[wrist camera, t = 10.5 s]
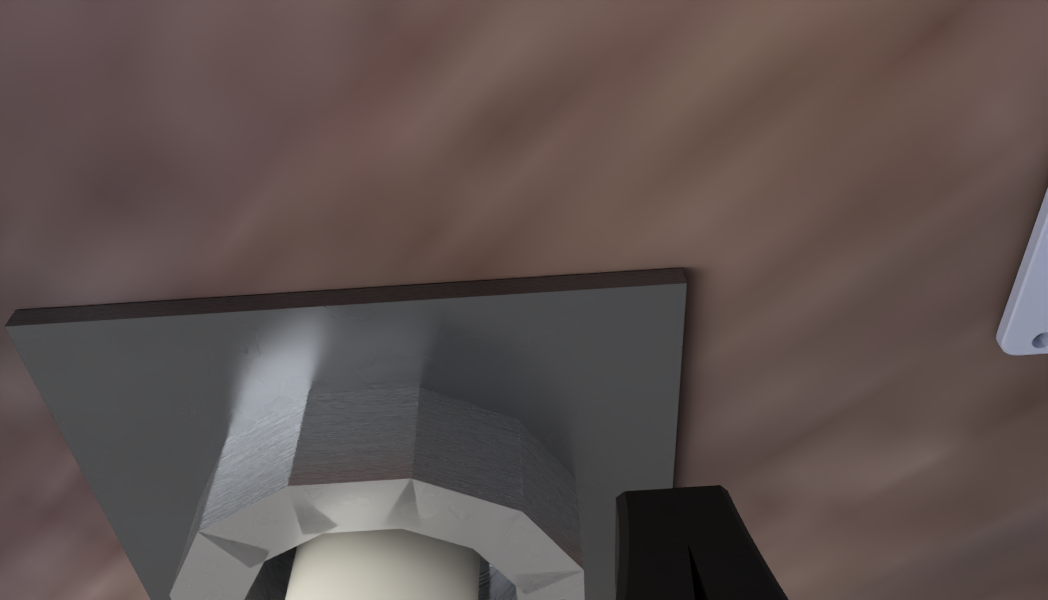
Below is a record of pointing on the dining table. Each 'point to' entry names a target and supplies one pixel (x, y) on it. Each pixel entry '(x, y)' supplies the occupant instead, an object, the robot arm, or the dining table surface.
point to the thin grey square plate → (370, 423)
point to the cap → (383, 567)
